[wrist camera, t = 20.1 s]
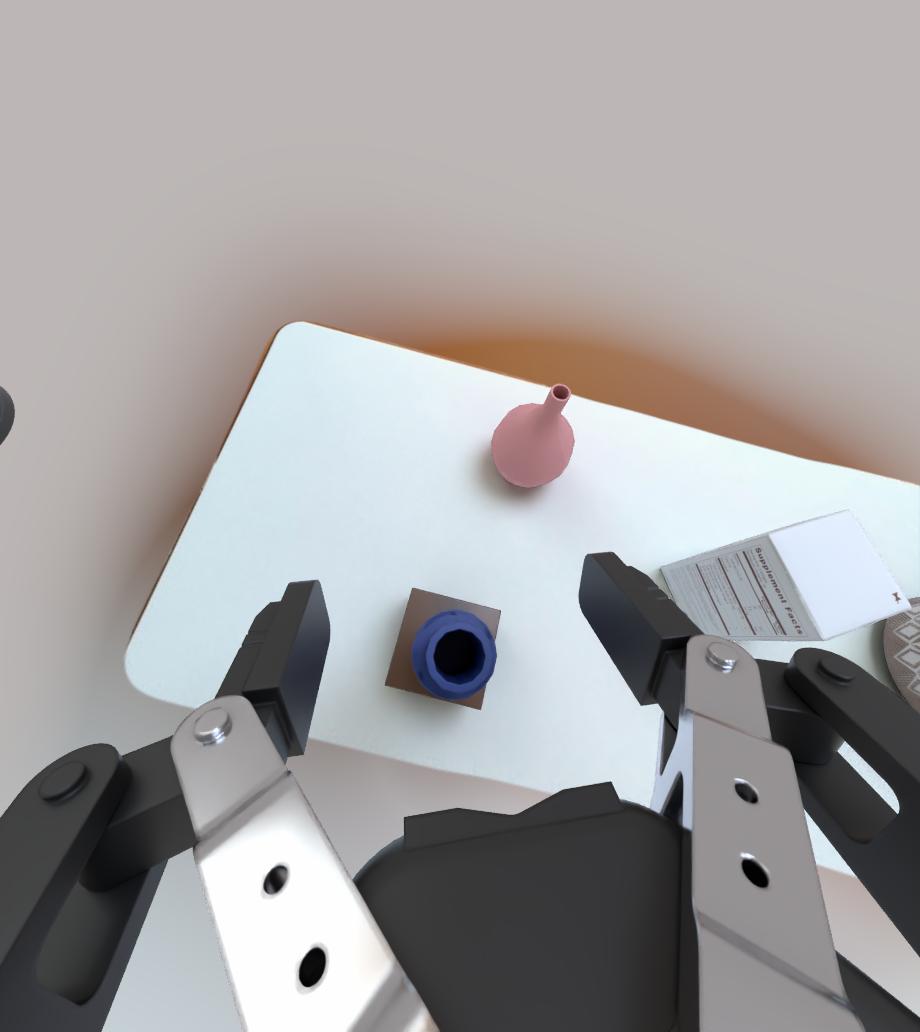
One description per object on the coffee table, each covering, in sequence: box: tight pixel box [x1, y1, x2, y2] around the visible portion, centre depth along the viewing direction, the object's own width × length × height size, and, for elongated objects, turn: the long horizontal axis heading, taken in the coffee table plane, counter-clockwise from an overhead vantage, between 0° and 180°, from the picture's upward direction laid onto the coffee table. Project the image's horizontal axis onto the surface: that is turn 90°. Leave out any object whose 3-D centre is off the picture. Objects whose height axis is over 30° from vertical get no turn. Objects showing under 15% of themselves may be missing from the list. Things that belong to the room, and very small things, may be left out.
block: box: [385, 588, 501, 710], centre depth 30 cm, size 7×7×6 cm
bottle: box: [412, 609, 497, 701], centre depth 21 cm, size 4×4×13 cm
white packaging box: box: [661, 510, 912, 641], centre depth 30 cm, size 7×7×13 cm
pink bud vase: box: [491, 384, 575, 488], centre depth 33 cm, size 8×8×12 cm
